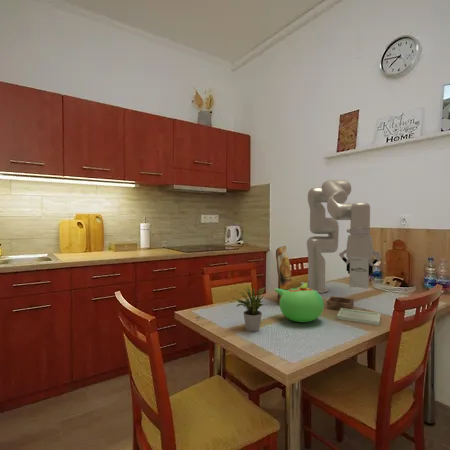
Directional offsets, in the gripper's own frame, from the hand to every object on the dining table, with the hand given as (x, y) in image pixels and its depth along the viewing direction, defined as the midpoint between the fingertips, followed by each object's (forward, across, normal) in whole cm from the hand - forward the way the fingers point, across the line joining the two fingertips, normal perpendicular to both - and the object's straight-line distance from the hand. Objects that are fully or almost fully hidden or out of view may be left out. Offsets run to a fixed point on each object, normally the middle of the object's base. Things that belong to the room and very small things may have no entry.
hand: (359, 273), depth 128 cm
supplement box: (+6, 0, 0) cm, 6 cm away
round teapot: (+19, -21, -15) cm, 32 cm away
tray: (+19, 0, 0) cm, 19 cm away
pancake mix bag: (+19, -35, +9) cm, 41 cm away
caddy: (+19, -9, +12) cm, 24 cm away
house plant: (+19, -35, -32) cm, 51 cm away
